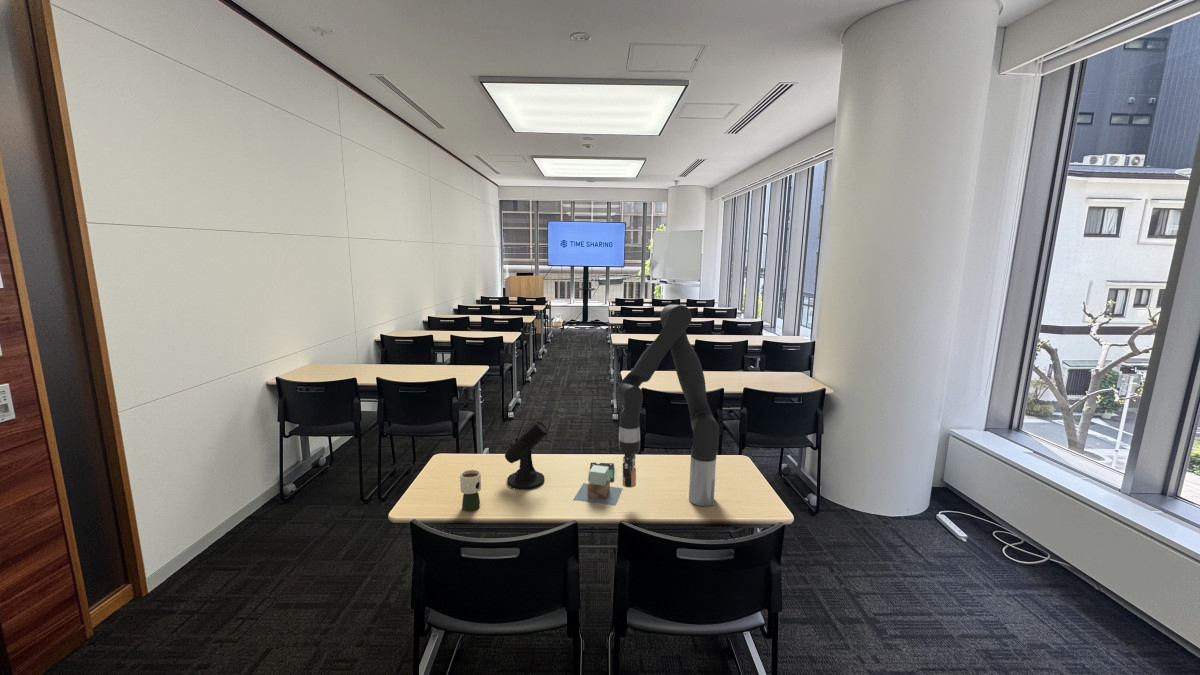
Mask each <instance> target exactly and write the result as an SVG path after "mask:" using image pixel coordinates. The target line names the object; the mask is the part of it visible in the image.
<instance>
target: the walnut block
mask: <svg viewBox="0 0 1200 675" xmlns="http://www.w3.org/2000/svg"><path fill="white" fill-rule="evenodd" d="M587 484H588V495H587V497H592V498H599V499H606V498H607V496H608V493H609V491H610V487H611V481H610V479H609V478H608V481H607V483H606V485H605V486H601V485H593V484H589V482H588V483H587Z"/></svg>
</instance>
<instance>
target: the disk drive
mask: <svg viewBox="0 0 1200 675" xmlns="http://www.w3.org/2000/svg"><path fill="white" fill-rule="evenodd" d="M593 465H598V466H607V467H609V477H608V478H609V479H610V482H614V480H615V478H614V477H615V463H611V462H610V463H608V462H600V463H597V462H590V466H589V471H590V470H591V468H592V467H593Z"/></svg>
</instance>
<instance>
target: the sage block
mask: <svg viewBox="0 0 1200 675" xmlns="http://www.w3.org/2000/svg"><path fill="white" fill-rule="evenodd" d="M608 477H609V467H607V466H598V465H593V467H592V468H591V470H590V469H589V472H588V483H589V484H593V485H601V486H605V485H606V483H607V481H608Z"/></svg>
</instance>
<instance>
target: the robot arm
mask: <svg viewBox="0 0 1200 675" xmlns="http://www.w3.org/2000/svg"><path fill="white" fill-rule="evenodd" d="M659 319H660V324H661V326H662V329H661V330H660V332H659V334H658V335H657V336H656V338H655V339H654V340H653V341H652V342H651V343H650V345H648V346H647V348H646V349H645V350H644V351H643V352H642V354H641V355H640V357H639V359H638V360H637V361H636V363H635V365H634V366H633V368H632V369H631V371H629V373H627V374H626V375H625V376H624V378H623V379H622V380H621V381H620V383H619V384H618V386H617V389H616V394H617V397H618V398H619V399H620V400H621V401H622V402H623V409H621V410H620V412H619V427H618V428H619V429H618V451H619V452H620V453H621V454H624V456H623V457H622V462H623V463H622V478H623V477H625V486H626V487H625V488H627V487H631V476H632V470H633V467H635V466H636V456H637V455H636V454H639V453H640V452H641V429H640V414H641V411H642V405H643V401H644V396H643V391H642V389H641V387H640V386H641V385H642V384H643V383H647V382H649V381H650V379H651V378H652V377H653V375H654V373H655V372H656V371H657V369H658V367H659V366H660V364H661V363H662V361H663V359H664V358H665V356H666V355H667V353H668V352H669V350H670V352H671V356H672V360H673V362H674V364H673V365H674V368H675V373H676V375H677V379H678V383H679V385H680V387H681V390H682V392H683V396H684V398H685V401H686V402H687V406H688V407H687V408H688V411H689V417H690V418H689V419H690V425H691V429H692V432H693V435H692V448H691V449H690V450H691V451H690V467H689V468H690V470H689V485H688V486H689V487H688V500H689V502H690V503H691V504H693V505H696V506H700V507H708V506H714V503H715V486H716V470H717V469H716V464H717V454H718V452H719V442H720V426H719V424H718V422H717V420H716V419H715V417H714V415H713V411H712V410H711V407H710V405H709V402H708V399H707V392H706V391H707V389H706V380H705V375H704V370H703V368H702V364H701V361H700V358H699V357H698V355H697V352H696V351H695V349H694V348H693V346H692V344H691V343H690V341H689V338H688V335H687V332H686V331H687V328H688V327H689V326H690V324H691V321H692V319H693V316H692V311H691V310H690V309H689V308H688V307H687V306H686V305H682V304H667V305H665V306H664V307H663V309H662V310H661V311H660V318H659ZM630 467H631V468H630ZM627 473H629V474H627Z"/></svg>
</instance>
